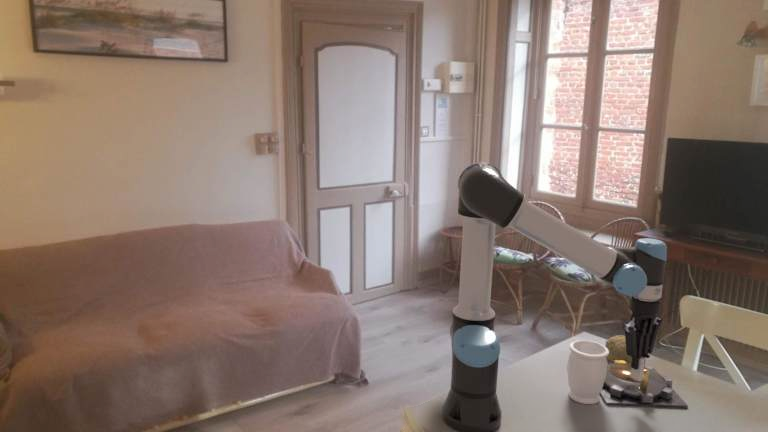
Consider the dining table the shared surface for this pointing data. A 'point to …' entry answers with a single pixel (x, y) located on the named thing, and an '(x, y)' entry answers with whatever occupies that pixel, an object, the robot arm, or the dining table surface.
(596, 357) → the jar
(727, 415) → the dining table surface
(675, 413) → the dining table surface
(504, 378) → the dining table surface
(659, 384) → the sprocket
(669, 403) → the base plate
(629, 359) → the decorative object
